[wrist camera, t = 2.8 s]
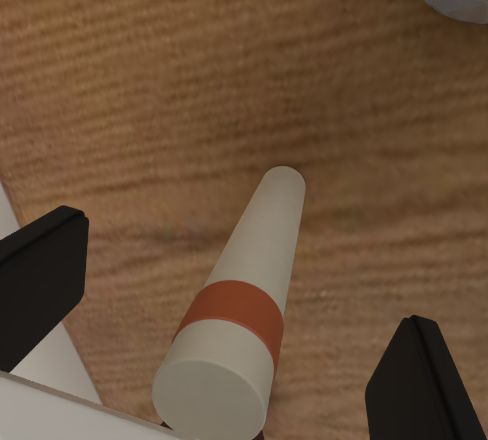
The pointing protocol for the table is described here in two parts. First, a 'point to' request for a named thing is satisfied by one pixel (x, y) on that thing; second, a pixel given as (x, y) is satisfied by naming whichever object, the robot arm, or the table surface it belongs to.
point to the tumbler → (462, 9)
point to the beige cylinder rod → (235, 323)
